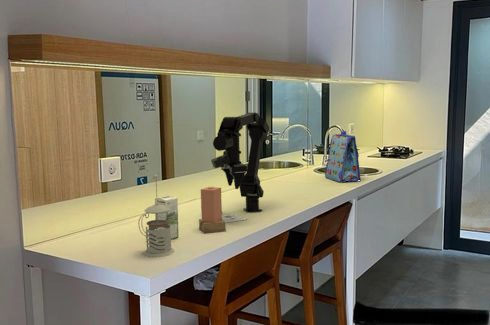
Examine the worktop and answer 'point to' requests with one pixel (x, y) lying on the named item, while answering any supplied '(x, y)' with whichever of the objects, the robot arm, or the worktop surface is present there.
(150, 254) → the french press
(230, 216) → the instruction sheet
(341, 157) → the lunch bag
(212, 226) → the base brick
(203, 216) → the tall brick
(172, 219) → the syrup box
